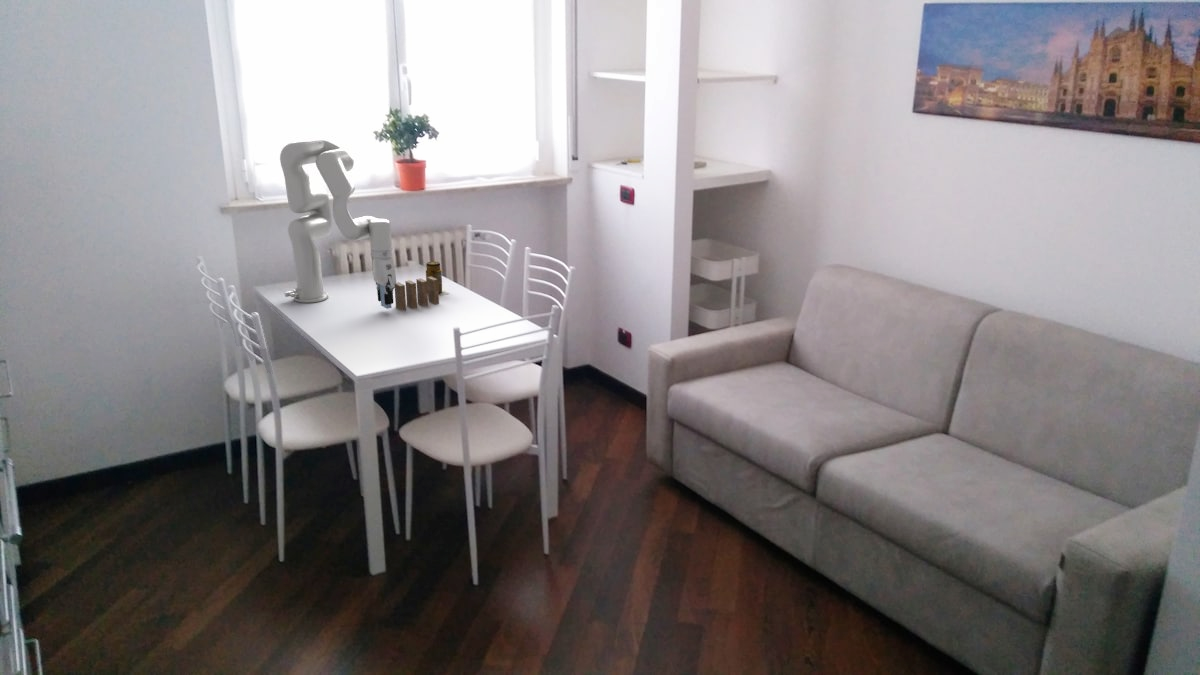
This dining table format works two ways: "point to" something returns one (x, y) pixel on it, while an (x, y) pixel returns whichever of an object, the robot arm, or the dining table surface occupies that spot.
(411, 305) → the domino
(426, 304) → the domino
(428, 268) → the condiment
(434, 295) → the domino
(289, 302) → the dining table surface
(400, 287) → the domino
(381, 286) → the domino
